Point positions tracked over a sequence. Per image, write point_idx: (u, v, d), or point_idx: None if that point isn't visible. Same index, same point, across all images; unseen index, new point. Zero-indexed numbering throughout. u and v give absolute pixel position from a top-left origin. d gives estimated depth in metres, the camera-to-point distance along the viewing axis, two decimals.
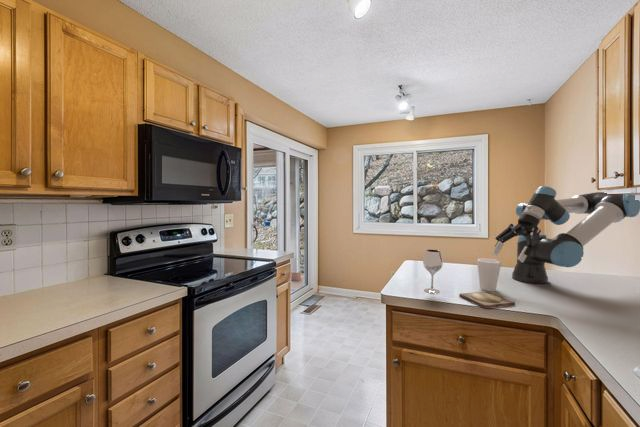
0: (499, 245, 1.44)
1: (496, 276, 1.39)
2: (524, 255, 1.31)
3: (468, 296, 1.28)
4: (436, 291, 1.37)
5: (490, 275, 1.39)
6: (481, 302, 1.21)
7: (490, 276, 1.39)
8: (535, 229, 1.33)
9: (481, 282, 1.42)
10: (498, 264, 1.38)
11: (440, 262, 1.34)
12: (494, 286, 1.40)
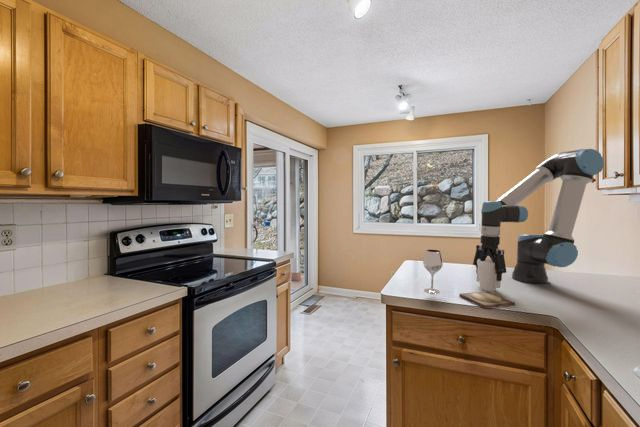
0: None
1: None
2: (498, 281, 1.37)
3: (468, 296, 1.28)
4: (436, 291, 1.37)
5: (490, 275, 1.39)
6: (481, 302, 1.21)
7: (490, 276, 1.39)
8: (498, 253, 1.35)
9: (481, 282, 1.42)
10: None
11: (440, 262, 1.34)
12: None
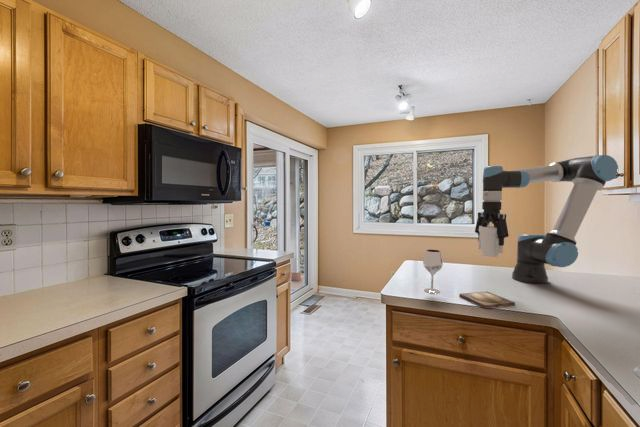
0: None
1: None
2: (500, 246, 1.36)
3: (468, 296, 1.28)
4: (436, 291, 1.37)
5: (492, 240, 1.37)
6: (481, 302, 1.21)
7: (492, 241, 1.38)
8: (500, 217, 1.34)
9: (483, 248, 1.41)
10: None
11: (440, 262, 1.34)
12: None
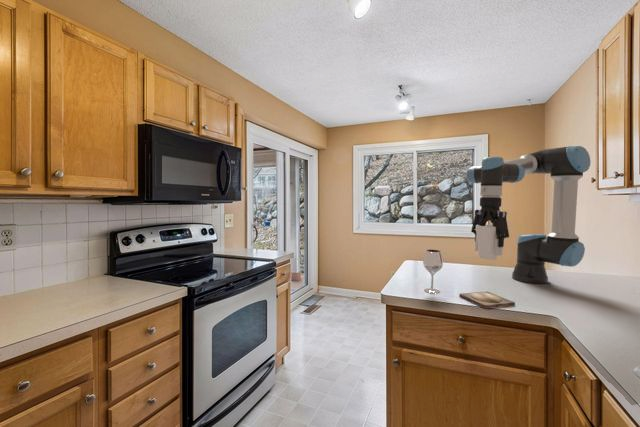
0: None
1: None
2: (499, 248, 1.20)
3: (468, 296, 1.28)
4: (436, 291, 1.37)
5: (490, 241, 1.22)
6: (481, 302, 1.21)
7: (490, 242, 1.22)
8: (500, 215, 1.18)
9: (480, 250, 1.25)
10: None
11: (440, 262, 1.34)
12: None
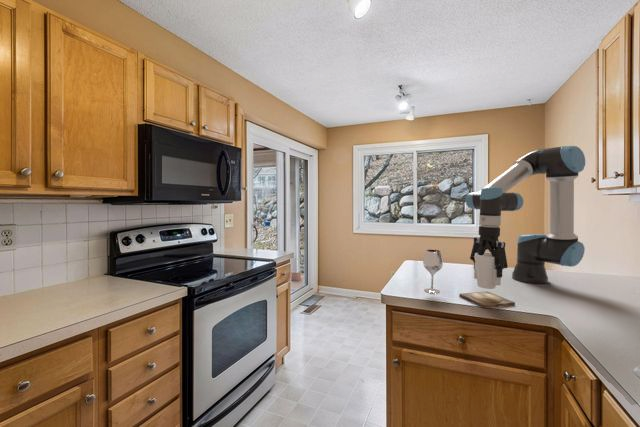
0: None
1: None
2: (498, 278, 1.21)
3: (468, 296, 1.28)
4: (436, 291, 1.37)
5: (489, 271, 1.22)
6: (481, 302, 1.21)
7: (489, 272, 1.22)
8: (498, 246, 1.19)
9: (479, 279, 1.25)
10: None
11: (440, 262, 1.34)
12: None
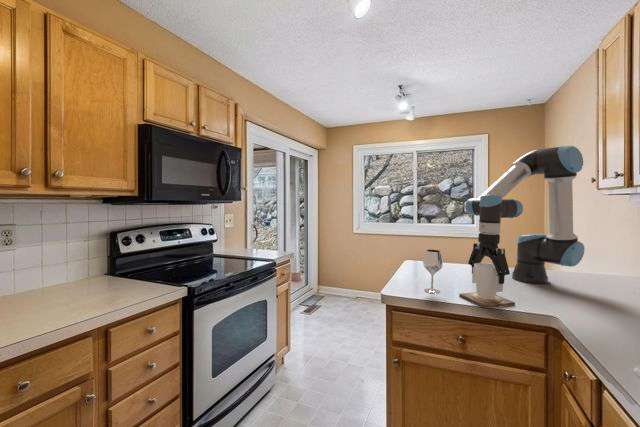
0: None
1: (495, 283, 1.23)
2: (500, 284, 1.20)
3: (468, 296, 1.28)
4: (436, 291, 1.37)
5: (489, 281, 1.23)
6: (481, 302, 1.21)
7: (489, 283, 1.23)
8: (498, 252, 1.19)
9: (479, 289, 1.26)
10: None
11: (440, 262, 1.34)
12: (493, 294, 1.24)
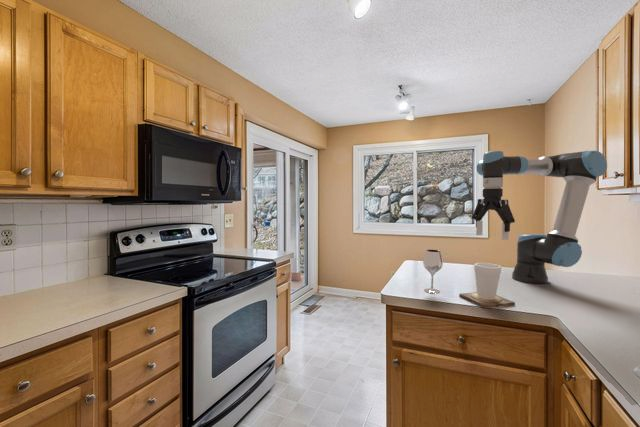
0: (479, 225, 1.42)
1: (496, 283, 1.23)
2: (506, 232, 1.29)
3: (468, 296, 1.28)
4: (436, 291, 1.37)
5: (489, 282, 1.22)
6: (481, 302, 1.21)
7: (489, 283, 1.23)
8: (502, 203, 1.28)
9: (479, 289, 1.26)
10: (498, 269, 1.22)
11: (440, 262, 1.34)
12: (493, 294, 1.24)
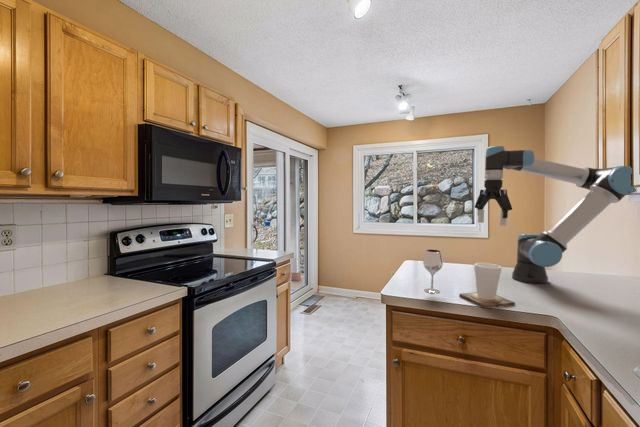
0: (480, 213, 1.56)
1: (496, 283, 1.23)
2: (504, 219, 1.44)
3: (468, 296, 1.28)
4: (436, 291, 1.37)
5: (489, 282, 1.22)
6: (481, 302, 1.21)
7: (489, 283, 1.23)
8: (501, 192, 1.43)
9: (479, 289, 1.26)
10: (498, 269, 1.22)
11: (440, 262, 1.34)
12: (493, 294, 1.24)
